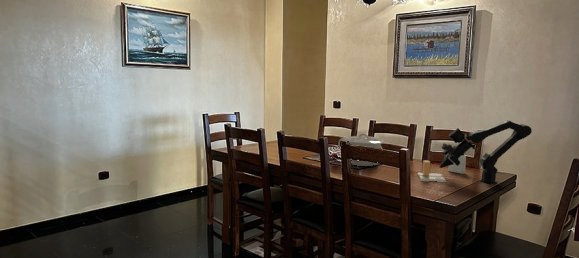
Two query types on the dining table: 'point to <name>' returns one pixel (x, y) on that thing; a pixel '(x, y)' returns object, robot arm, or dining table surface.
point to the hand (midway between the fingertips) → (439, 167)
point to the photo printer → (460, 167)
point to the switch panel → (431, 177)
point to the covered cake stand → (363, 141)
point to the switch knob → (426, 168)
